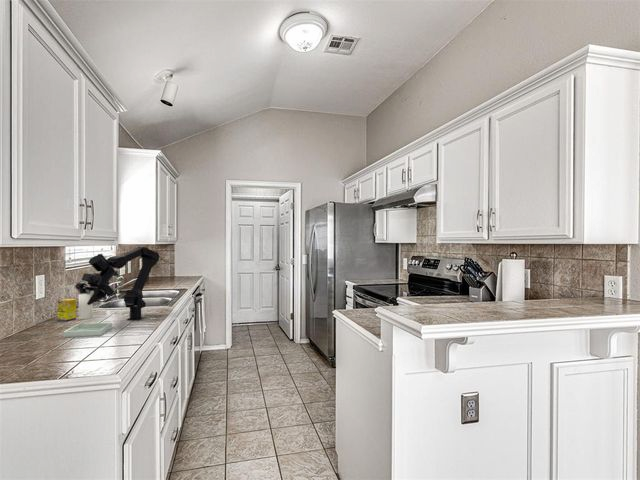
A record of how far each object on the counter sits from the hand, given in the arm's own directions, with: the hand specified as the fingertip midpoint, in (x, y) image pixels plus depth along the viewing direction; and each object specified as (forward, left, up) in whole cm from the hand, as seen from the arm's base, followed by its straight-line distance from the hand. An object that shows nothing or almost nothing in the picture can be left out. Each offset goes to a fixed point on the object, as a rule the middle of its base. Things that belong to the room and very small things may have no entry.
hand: (83, 304), depth 166 cm
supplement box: (-30, -19, -14) cm, 38 cm away
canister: (-1, +1, -7) cm, 7 cm away
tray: (-1, +2, -13) cm, 14 cm away
